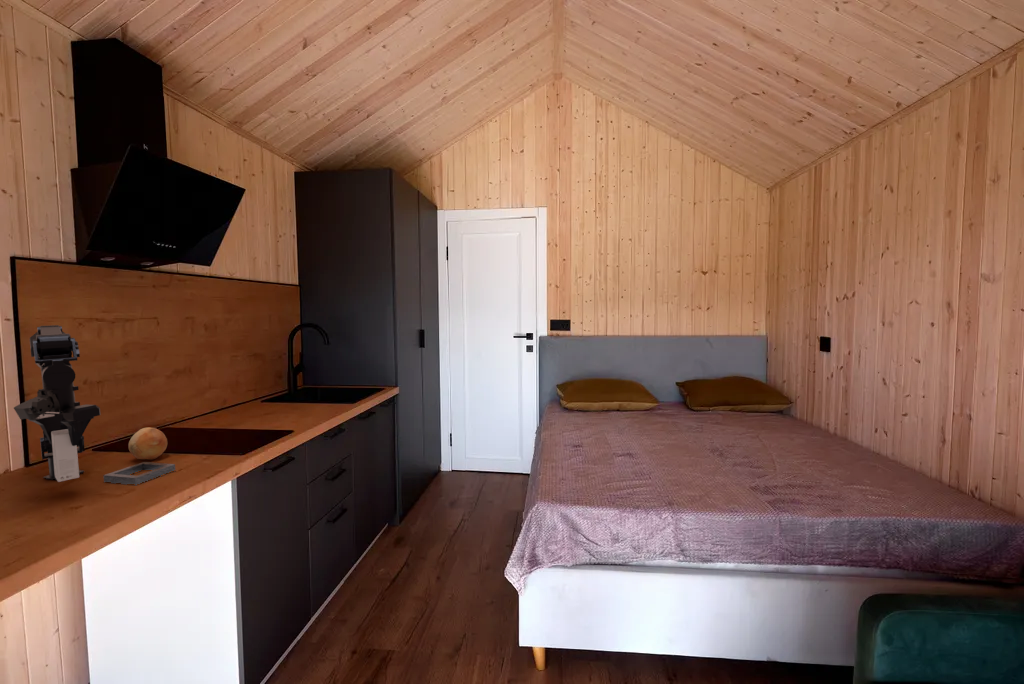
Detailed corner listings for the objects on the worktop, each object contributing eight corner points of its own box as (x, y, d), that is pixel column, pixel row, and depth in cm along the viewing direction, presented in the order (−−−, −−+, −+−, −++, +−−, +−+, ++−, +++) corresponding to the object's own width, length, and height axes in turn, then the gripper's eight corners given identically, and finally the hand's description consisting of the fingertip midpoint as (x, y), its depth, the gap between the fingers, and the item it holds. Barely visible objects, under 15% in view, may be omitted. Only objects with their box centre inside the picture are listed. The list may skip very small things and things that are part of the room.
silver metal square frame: (103, 482, 134) (103, 475, 133) (144, 468, 145) (144, 461, 144) (136, 485, 131) (135, 478, 130) (175, 470, 142) (174, 464, 141)
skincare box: (80, 477, 125) (76, 431, 124) (57, 482, 122) (53, 435, 121) (76, 472, 129) (72, 427, 128) (54, 477, 126) (50, 431, 125)
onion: (121, 464, 149) (118, 432, 148) (147, 454, 159) (144, 424, 158) (151, 464, 148) (148, 432, 147) (175, 454, 158) (173, 423, 157)
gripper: (-9, 388, 118) (-2, 452, 119) (47, 390, 113) (54, 456, 114) (45, 381, 129) (51, 439, 130) (99, 382, 124) (104, 443, 125)
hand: (64, 444), depth 125 cm, fingers closed on skincare box, 7 cm apart
